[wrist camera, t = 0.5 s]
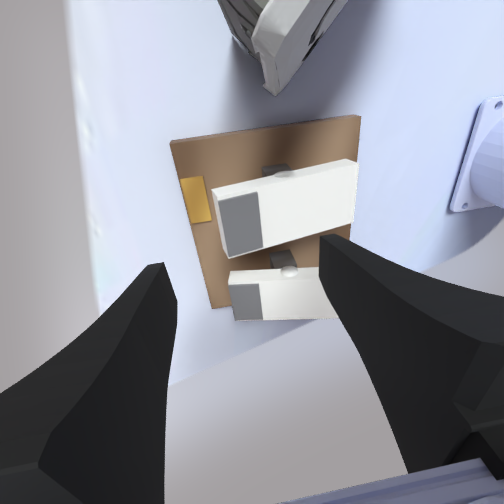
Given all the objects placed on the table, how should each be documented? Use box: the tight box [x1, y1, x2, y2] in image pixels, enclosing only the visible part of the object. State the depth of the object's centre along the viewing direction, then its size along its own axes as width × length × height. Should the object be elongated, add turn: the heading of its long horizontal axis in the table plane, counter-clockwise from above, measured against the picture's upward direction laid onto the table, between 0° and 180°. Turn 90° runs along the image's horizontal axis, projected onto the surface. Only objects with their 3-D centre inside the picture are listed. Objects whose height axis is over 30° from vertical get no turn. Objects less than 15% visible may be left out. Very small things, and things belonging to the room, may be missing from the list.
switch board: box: [170, 115, 361, 309], centre depth 20 cm, size 12×13×3 cm
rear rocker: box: [228, 266, 339, 321], centre depth 19 cm, size 8×4×2 cm, turn 96°
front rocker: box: [211, 159, 359, 259], centre depth 16 cm, size 8×4×2 cm, turn 96°
